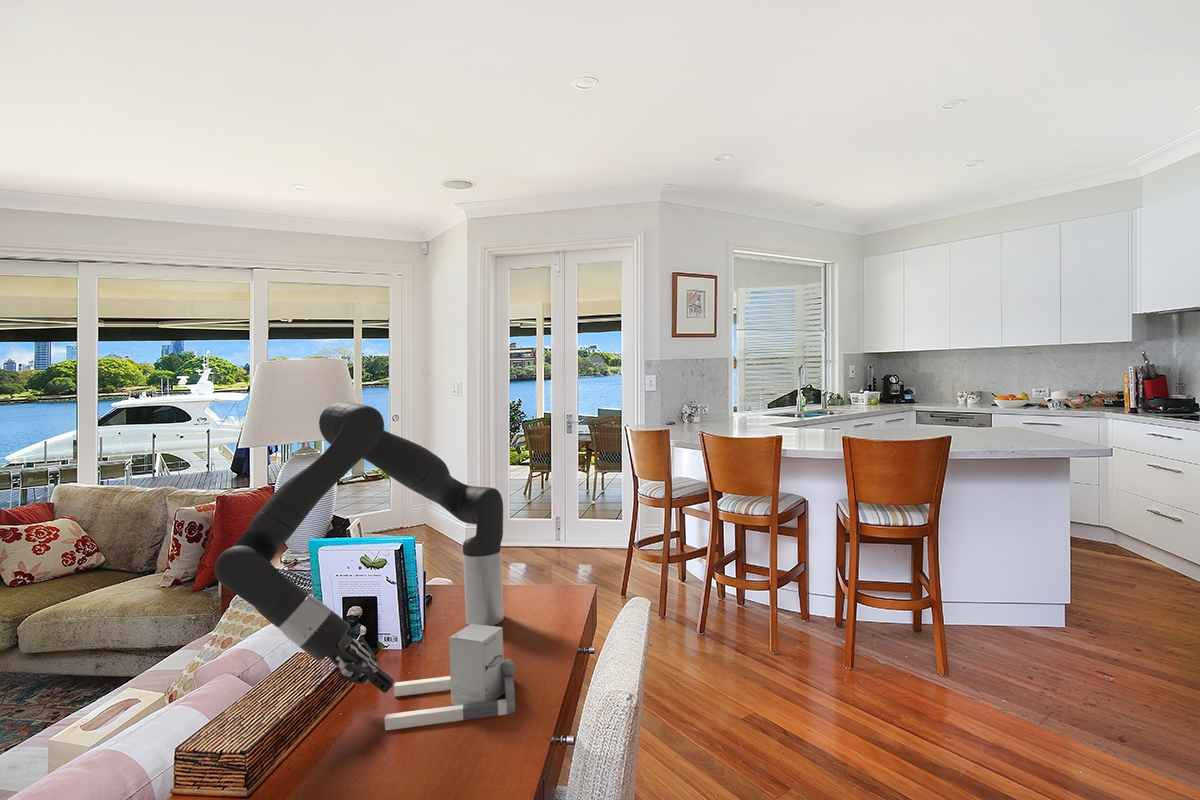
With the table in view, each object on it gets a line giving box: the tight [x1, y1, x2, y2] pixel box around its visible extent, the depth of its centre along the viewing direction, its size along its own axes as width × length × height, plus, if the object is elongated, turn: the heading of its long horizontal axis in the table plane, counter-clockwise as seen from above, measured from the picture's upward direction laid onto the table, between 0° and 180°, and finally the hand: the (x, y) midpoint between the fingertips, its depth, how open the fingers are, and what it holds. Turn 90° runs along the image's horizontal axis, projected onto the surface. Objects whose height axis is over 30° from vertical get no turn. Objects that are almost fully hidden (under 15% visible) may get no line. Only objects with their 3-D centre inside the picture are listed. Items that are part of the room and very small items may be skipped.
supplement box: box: [448, 624, 505, 706], centre depth 117 cm, size 7×7×13 cm
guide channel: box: [384, 658, 516, 731], centre depth 116 cm, size 14×22×6 cm, turn 101°
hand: (390, 686), depth 114 cm, fingers closed
